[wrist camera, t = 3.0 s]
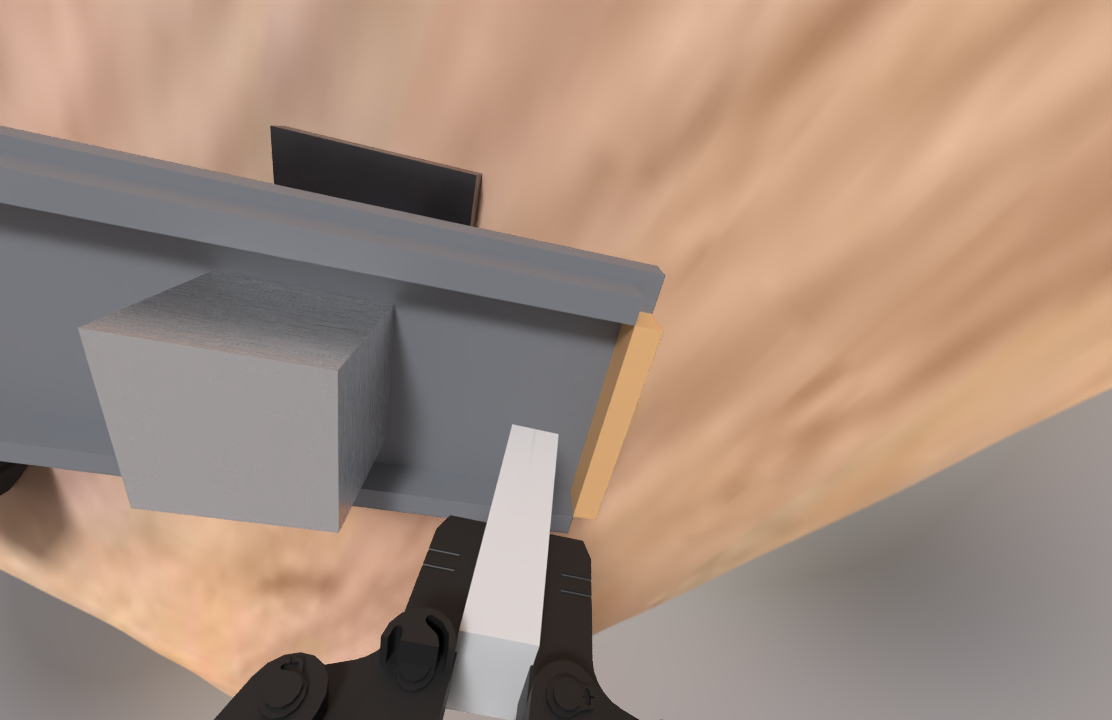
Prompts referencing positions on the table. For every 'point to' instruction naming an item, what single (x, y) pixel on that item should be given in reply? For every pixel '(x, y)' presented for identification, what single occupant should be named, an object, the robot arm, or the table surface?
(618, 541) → the table surface
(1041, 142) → the table surface
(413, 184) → the stand
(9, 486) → the battery
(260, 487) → the rider
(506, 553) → the robot arm
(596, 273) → the beam
